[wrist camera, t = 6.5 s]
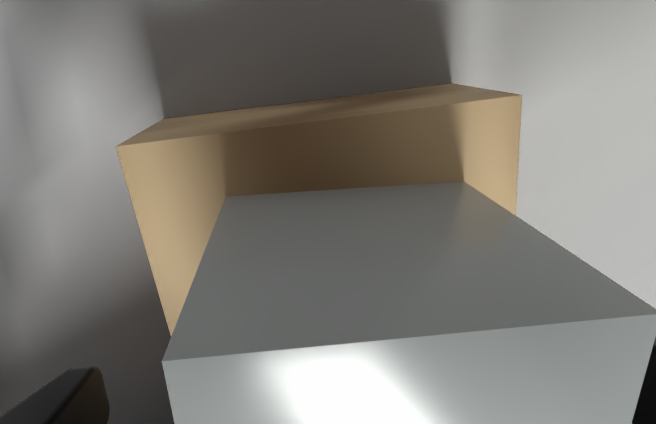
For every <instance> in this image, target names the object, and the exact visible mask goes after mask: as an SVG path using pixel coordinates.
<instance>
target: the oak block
mask: <svg viewBox="0 0 656 424" xmlns="http://www.w3.org/2000/svg"><path fill="white" fill-rule="evenodd" d="M521 106H522V95H519V94H513V93H507V92H501V91H495V90H488V89H482V88H476V87H470V86H464V85H458V84H443V85H435V86H427V87H419V88H411V89H403V90H395V91H387V92H378V93H370V94H362V95H354V96H346V97H338V98H330V99H322V100H313V101H305V102H297V103H289V104H281V105H273V106H265V107H257V108H248V109H240V110H232V111H224V112H216V113H208V114H200V115H192V116H183V117H175V118H167V119H163V120H161V121H160V122H158V123H156V124H154V125H152V126H151V127H149V128H147V129H145V130H144V131H142V132H140V133H138V134H137V135H135V136H133V137H131V138H130V139H128V140H126V141H124V142H123V143H121V144H119V145H117V146H116V149H117V153H118V156H119V159H120V163H121V166H122V170H123V173H124V177H125V180H126V184H127V187H128V190H129V194H130V197H131V201H132V204H133V208H134V211H135V215H136V218H137V222H138V225H139V228H140V232H141V235H142V239H143V242H144V246H145V249H146V253H147V256H148V259H149V263H150V266H151V270H152V273H153V277H154V280H155V284H156V287H157V291H158V294H159V297H160V301H161V304H162V308H163V311H164V315H165V318H166V322H167V325H168V328H169V332H170V335H171V336H172V333H173V331H174V328H175V326H176V323H177V321H178V318H179V315H180V313H181V310H182V308H183V305H184V302H185V300H186V297H187V295H188V292H189V290H190V287H191V284H192V282H193V279H194V277H195V274H196V272H197V269H198V266H199V264H200V261H201V259H202V256H203V253H204V251H205V248H206V246H207V243H208V241H209V238H210V235H211V233H212V230H213V228H214V225H215V222H216V220H217V217H218V215H219V212H220V210H221V207H222V204H223V202H224V199H225V197H226V196H242V195H257V194H273V193H288V192H304V191H320V190H335V189H351V188H366V187H382V186H398V185H414V184H430V183H446V182H462V181H464V182H466V183H467V184H469V185H470V186H472V187H473V188H475V189H476V190H478V191H479V192H481V193H482V194H484V195H485V196H487V197H488V198H490V199H491V200H493V201H494V202H496V203H497V204H499V205H500V206H502V207H503V208H505V209H506V210H508V211H509V212H511V213H512V214H514V215H515V216H516V197H517V179H518V161H519V143H520V124H521Z"/></svg>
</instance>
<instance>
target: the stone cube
mask: <svg viewBox="0 0 656 424" xmlns="http://www.w3.org/2000/svg"><path fill="white" fill-rule="evenodd" d="M655 337H656V309H655V308H653V307H652V306H650V305H649V304H647V303H646V302H644V301H643V300H641V299H640V298H638V297H637V296H635V295H634V294H632V293H631V292H629V291H628V290H626V289H625V288H623V287H622V286H620V285H619V284H617V283H616V282H614V281H613V280H611V279H610V278H608V277H607V276H605V275H604V274H602V273H601V272H599V271H598V270H596V269H595V268H593V267H592V266H590V265H589V264H587V263H586V262H584V261H583V260H581V259H580V258H578V257H577V256H575V255H574V254H572V253H571V252H569V251H568V250H566V249H565V248H563V247H562V246H560V245H559V244H557V243H556V242H554V241H553V240H551V239H550V238H548V237H547V236H545V235H544V234H542V233H541V232H539V231H538V230H536V229H535V228H533V227H532V226H530V225H529V224H527V223H526V222H524V221H523V220H521V219H520V218H518V217H517V216H515V215H514V214H512V213H511V212H509V211H508V210H506V209H505V208H503V207H502V206H500V205H499V204H497V203H496V202H494V201H493V200H491V199H490V198H488V197H487V196H485V195H484V194H482V193H481V192H479V191H478V190H476V189H475V188H473V187H472V186H470V185H469V184H467V183H466V182H464V181H462V182H446V183H430V184H414V185H398V186H382V187H366V188H351V189H335V190H320V191H304V192H288V193H273V194H257V195H242V196H226V197H225V199H224V202H223V204H222V207H221V210H220V212H219V215H218V217H217V220H216V222H215V225H214V228H213V230H212V233H211V235H210V238H209V241H208V243H207V246H206V248H205V251H204V253H203V256H202V259H201V261H200V264H199V266H198V269H197V272H196V274H195V277H194V279H193V282H192V284H191V287H190V290H189V292H188V295H187V297H186V300H185V302H184V305H183V308H182V310H181V313H180V315H179V318H178V321H177V323H176V326H175V328H174V331H173V333H172V336H171V339H170V341H169V344H168V346H167V349H166V351H165V354H164V357H163V359H162V365H163V370H164V375H165V380H166V385H167V390H168V395H169V400H170V405H171V409H172V414H173V419H174V424H631V423H632V420H633V416H634V413H635V409H636V405H637V402H638V398H639V395H640V391H641V387H642V384H643V380H644V377H645V373H646V369H647V366H648V362H649V359H650V355H651V352H652V348H653V344H654V341H655Z"/></svg>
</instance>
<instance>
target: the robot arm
mask: <svg viewBox="0 0 656 424" xmlns="http://www.w3.org/2000/svg"><path fill="white" fill-rule="evenodd" d="M108 419H109V402H108V398H107V394H106V390H105V385H104V381H103V377H102V374H101V371H100V369H99V368H97V367H95V366H88V367H75V368H71V369H69V370H67V371H65V372H64V373H63V374H61V375H60V376H58V377H57V378H55V379H54V380H53V381H51V382H50V383H48V384H47V385H45V386H44V387H42V388H41V389H40V390H38V391H37V392H35V393H34V394H32V395H31V396H30V397H28V398H27V399H25V400H24V401H22V402H21V403H20V404H18V405H17V406H15V407H14V408H12V409H11V410H10V411H8V412H7V413H5V414H4V415H2V416H1V417H0V424H107V423H108ZM632 424H656V337H655V341H654V344H653V348H652V352H651V355H650V359H649V362H648V366H647V369H646V373H645V377H644V380H643V384H642V387H641V391H640V395H639V398H638V402H637V405H636V409H635V413H634V416H633V420H632Z"/></svg>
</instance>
